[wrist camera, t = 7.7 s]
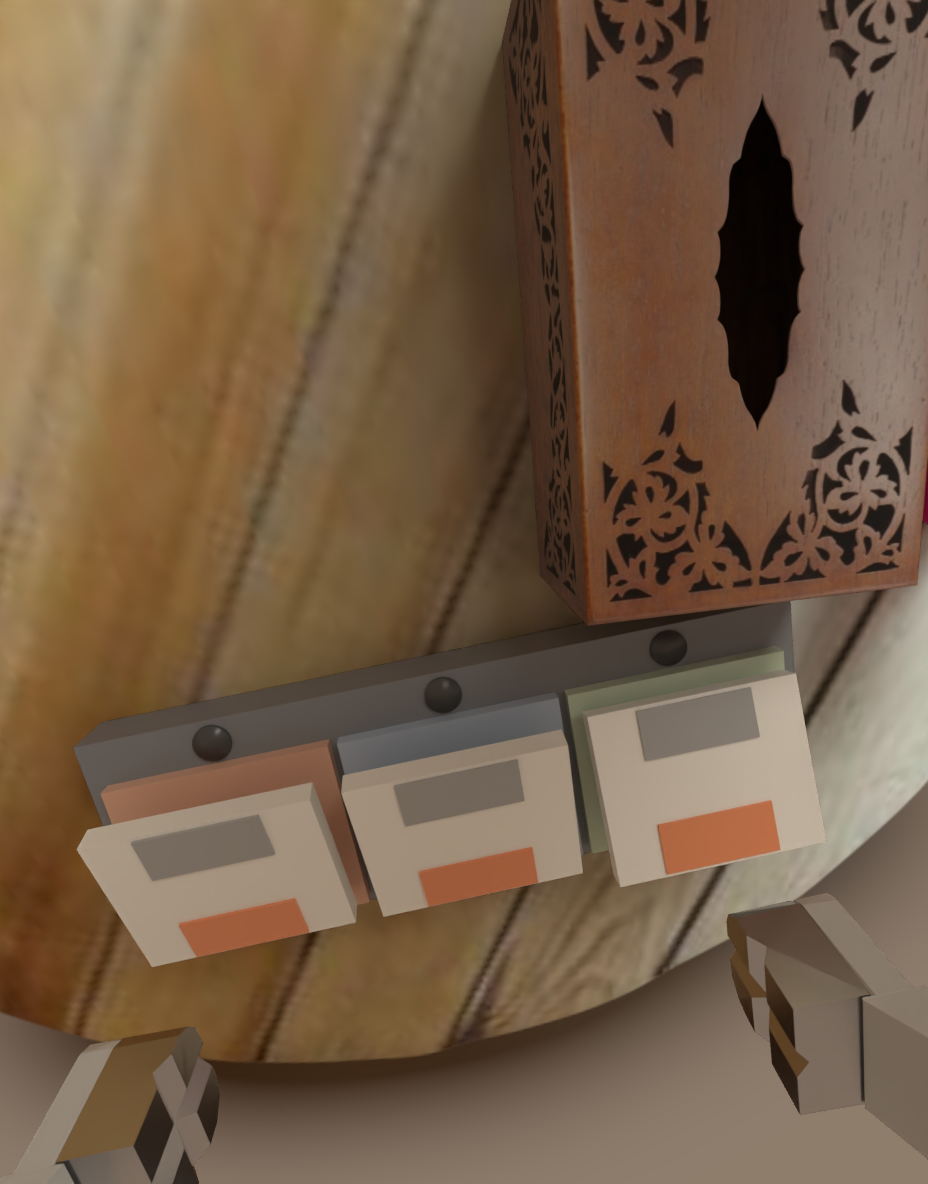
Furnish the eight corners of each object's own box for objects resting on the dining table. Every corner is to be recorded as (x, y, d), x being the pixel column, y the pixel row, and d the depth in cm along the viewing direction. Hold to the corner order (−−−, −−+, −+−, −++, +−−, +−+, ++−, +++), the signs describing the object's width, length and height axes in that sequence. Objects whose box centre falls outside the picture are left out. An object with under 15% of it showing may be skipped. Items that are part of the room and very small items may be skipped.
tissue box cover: (781, 546, 36) (917, 585, 26) (539, 575, 35) (587, 625, 25) (794, 25, 30) (980, -178, 20) (501, 46, 29) (545, -155, 19)
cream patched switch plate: (312, 782, 30) (309, 802, 29) (357, 902, 34) (356, 924, 33) (87, 829, 30) (74, 852, 28) (159, 945, 34) (151, 969, 32)
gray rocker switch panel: (759, 586, 36) (799, 603, 32) (772, 779, 39) (809, 813, 36) (101, 722, 35) (64, 755, 31) (170, 909, 38) (144, 959, 34)
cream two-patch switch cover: (782, 669, 33) (797, 673, 31) (812, 832, 33) (828, 843, 32) (581, 711, 32) (587, 717, 31) (613, 875, 33) (621, 888, 31)
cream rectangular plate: (561, 729, 30) (568, 747, 29) (576, 855, 34) (583, 875, 33) (342, 775, 30) (340, 795, 29) (383, 897, 34) (383, 919, 33)
